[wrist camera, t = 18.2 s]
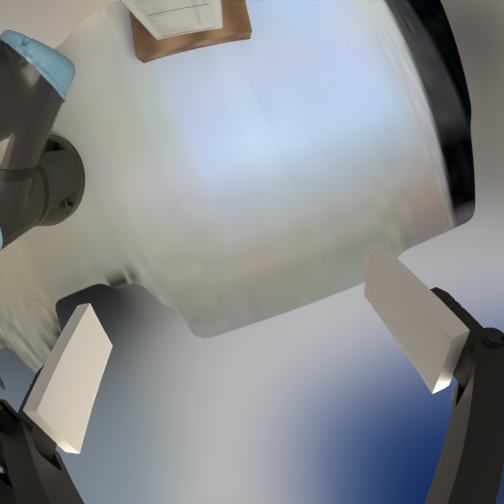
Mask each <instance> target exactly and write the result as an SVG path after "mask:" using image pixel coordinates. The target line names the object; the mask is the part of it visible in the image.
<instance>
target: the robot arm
mask: <svg viewBox="0 0 504 504" xmlns="http://www.w3.org/2000/svg"><path fill="white" fill-rule="evenodd" d="M74 75H75V67H74V64H73V63H72V61H71V60H70V59H68V58H67V57H66V56H64V55H62V54H61V53H59V52H58V51H56V50H54V49H52V48H50V47H49V46H46V45H45V44H43V43H41V42H39V41H36V40H34V39H30V38H29V37H27V36H24V35H23V34H20V33H18V32H15V31H12V30H5V31H4V32H3V33H2V34H1V35H0V251H1V250H2V249H3V248H4V247H6V246H7V245H8V244H10V243H11V242H13V241H14V240H15V239H17V238H18V237H20V236H21V235H22V234H24V233H25V232H27V231H28V230H30V229H31V228H33V227H34V226H51V225H55V224H58V223H60V222H62V221H63V220H65V219H66V218H68V217H69V216H71V215H72V214H73V213H74V211H75V210H76V209H77V207H78V206H79V204H80V202H81V199H82V196H83V193H84V187H85V173H84V168H83V164H82V161H81V158H80V156H79V154H78V152H77V151H76V149H75V148H74V147H73V146H72V145H71V144H70V143H69V142H68V141H66V140H65V139H63V138H61V137H57V136H49V135H50V132H51V129H52V127H53V124H54V122H55V119H56V117H57V114H58V112H59V110H60V107H61V105H62V103H63V102H65V100H66V94H67V91H68V89H69V87H70V84H71V82H72V80H73V78H74ZM365 297H366V298H367V300H368V301H369V302H370V304H371V305H372V306H373V308H374V309H375V311H376V312H377V313H378V315H379V316H380V318H381V319H382V320H383V322H384V323H385V325H386V326H387V327H388V329H389V330H390V332H391V333H392V334H393V336H394V337H395V338H396V340H397V342H398V343H399V344H400V346H401V347H402V349H403V350H404V352H405V353H406V355H407V356H408V358H409V359H410V360H411V362H412V363H413V365H414V367H415V368H416V370H417V371H418V372H419V374H420V376H421V377H422V379H423V380H424V382H425V383H426V385H427V386H428V388H429V389H430V391H431V392H432V393H435V392H437V391H439V390H441V389H443V388H445V387H447V386H449V384H450V381H451V379H452V377H453V375H454V377H455V378H456V379H457V381H458V383H457V385H456V387H455V389H454V391H453V393H452V395H451V398H450V399H451V400H452V399H453V398H454V400H453V406H452V411H451V416H450V420H449V425H448V429H447V434H446V438H445V442H444V445H443V449H442V453H441V456H440V460H439V463H438V466H437V470H436V473H435V476H434V479H433V482H432V485H431V487H430V490H429V493H428V496H427V499H426V501H425V503H424V504H495V501H496V498H497V493H498V489H499V484H500V480H501V475H502V470H503V464H504V333H503V332H501V331H500V330H498V329H495V328H483V327H482V326H481V325H480V324H479V323H478V322H477V321H476V320H475V319H474V318H473V317H472V316H471V315H470V314H469V313H468V312H467V311H466V310H465V309H464V308H463V307H461V305H460V304H459V303H458V302H457V301H455V299H454V298H453V297H452V296H451V295H450V294H449V293H447V292H445V291H443V290H441V289H439V288H437V287H436V288H433V289H429V288H428V287H427V286H426V285H425V284H424V283H423V282H422V281H421V280H419V278H418V277H416V276H415V275H414V274H413V273H412V272H411V271H410V270H409V269H408V268H407V267H406V266H405V265H404V264H402V263H401V262H400V261H399V260H398V259H397V258H396V257H395V256H394V255H393V254H391V253H390V252H389V251H388V250H387V249H386V248H385V247H383V246H382V245H381V244H380V243H377V244H372V245H368V246H365ZM111 349H112V344H111V342H110V340H109V339H108V337H107V335H106V333H105V332H104V330H103V328H102V326H101V324H100V322H99V320H98V318H97V316H96V314H95V313H94V311H93V309H92V307H91V305H90V304H83V305H78V306H77V308H76V309H75V311H74V313H73V314H72V316H71V318H70V319H69V321H68V323H67V325H66V326H65V328H64V330H63V331H62V333H61V335H60V337H59V339H58V340H57V342H56V344H55V346H54V348H53V349H52V351H51V353H50V355H49V357H48V359H47V361H46V363H45V365H43V366H42V367H41V369H40V370H39V371H38V372H37V373H36V375H35V377H34V379H33V383H32V384H31V386H30V388H29V390H28V392H27V394H26V396H25V398H24V400H23V403H22V405H21V407H20V409H19V412H18V413H17V412H16V411H15V410H14V409H13V408H12V407H11V406H10V405H9V403H8V402H6V401H5V400H3V399H1V400H0V467H1V468H3V473H0V504H84V502H83V501H82V499H81V497H80V495H79V493H78V491H77V489H76V488H75V486H74V484H73V482H72V480H71V478H70V476H69V474H68V472H67V469H66V467H65V465H64V463H63V461H62V459H61V457H60V455H59V453H58V452H57V451H56V450H55V449H56V445H58V446H60V447H61V448H62V449H63V450H64V451H65V452H71V453H78V454H79V453H80V450H81V446H82V443H83V439H84V434H85V431H86V428H87V424H88V420H89V417H90V413H91V410H92V407H93V403H94V400H95V397H96V393H97V390H98V387H99V384H100V381H101V378H102V375H103V372H104V369H105V366H106V363H107V360H108V357H109V355H110V352H111Z"/></svg>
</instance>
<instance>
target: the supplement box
mask: <svg viewBox="0 0 504 504" xmlns="http://www.w3.org/2000/svg"><path fill="white" fill-rule="evenodd" d="M120 1H121V2H122V3H123V4H124V5H125V6H126V7H127V8H128V9H129V10H130V11H131V12H132V14H133V15H134V16H135V17H136V18H137V19H138V20H139V21H140V22H141V23H142V24H143V25H144V26H145V28H146V29H147V30H148V31H149V32H150V33H151V34H152V35H153V37H154V38H155V39H156V40H160V39H165V38H169V37H174V36H179V35H184V34H189V33H195V32H200V31H207V30H214V29H221V28H223V18H222V2H221V0H120Z"/></svg>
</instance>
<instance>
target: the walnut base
mask: <svg viewBox="0 0 504 504" xmlns="http://www.w3.org/2000/svg"><path fill="white" fill-rule="evenodd" d="M221 2H222V18H223V28H221V29H214V30H207V31H200V32H195V33H189V34H184V35H179V36H174V37H169V38H165V39H160V40H156V39H155V38H154V37H153V35H152V34H151V33H150V32H149V31H148V30H147V29H146V28H145V26H144V25H143V24H142V23H141V22H140V21H139V20H138V19H137V18H136V17H135V16H134V15H133V14H132V12H131V11H130V16H131V24H132V31H133V38H134V45H135V51H136V57H137V58H138V59H140V60H141V61H142V62H144V63H145V62H148V61H152V60H155V59H158V58H162V57H165V56H169V55H172V54H176V53H180V52H184V51H188V50H192V49H196V48H201V47H206V46H210V45H215V44H221V43H226V42H232V41H238V40H244V39H250V36H251V32H252V29H251V24H250V20H249V16H248V12H247V7H246V3H245V0H221Z"/></svg>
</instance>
